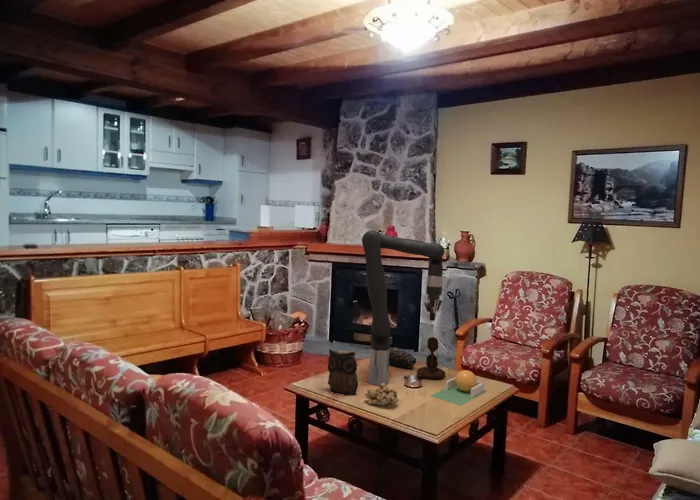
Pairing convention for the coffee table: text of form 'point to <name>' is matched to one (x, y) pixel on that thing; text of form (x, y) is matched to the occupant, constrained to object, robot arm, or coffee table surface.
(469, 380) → the ball
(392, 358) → the pine cone
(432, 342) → the dark wooden ornament
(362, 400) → the coffee table surface
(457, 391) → the felt strip
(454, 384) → the white side walls
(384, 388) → the mineral formation
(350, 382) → the owl
